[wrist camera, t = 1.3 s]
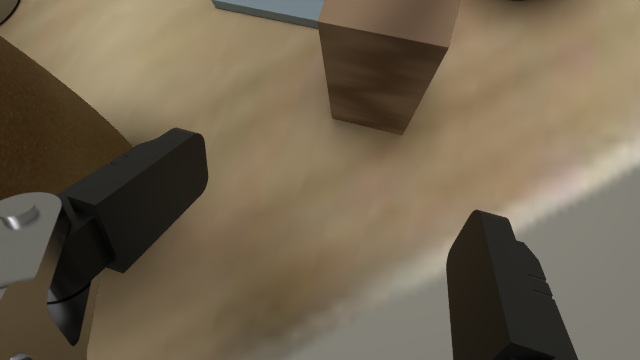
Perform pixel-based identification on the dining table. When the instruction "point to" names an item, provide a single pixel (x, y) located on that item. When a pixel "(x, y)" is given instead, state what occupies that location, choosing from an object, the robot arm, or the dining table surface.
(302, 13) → the butter dish
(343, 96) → the post
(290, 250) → the dining table surface
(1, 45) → the plant pot
